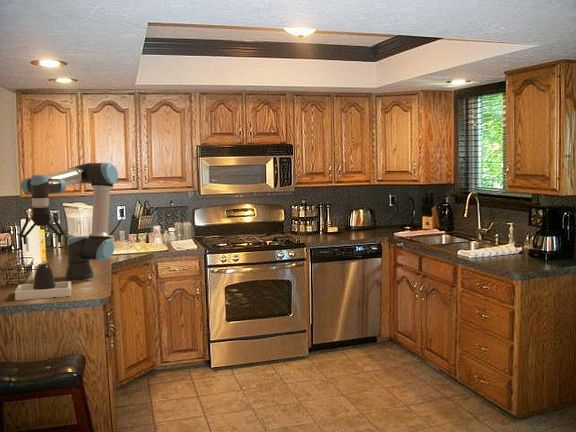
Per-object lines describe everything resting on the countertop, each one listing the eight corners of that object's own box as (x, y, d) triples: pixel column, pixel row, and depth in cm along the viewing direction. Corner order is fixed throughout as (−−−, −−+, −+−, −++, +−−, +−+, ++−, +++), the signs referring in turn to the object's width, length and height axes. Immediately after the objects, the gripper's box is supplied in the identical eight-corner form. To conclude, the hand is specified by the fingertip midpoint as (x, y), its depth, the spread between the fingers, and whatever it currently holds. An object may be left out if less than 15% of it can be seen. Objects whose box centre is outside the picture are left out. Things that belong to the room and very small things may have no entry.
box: (71, 289, 304) (71, 281, 303) (70, 296, 286) (70, 288, 286) (19, 292, 296) (18, 284, 295) (15, 300, 278) (14, 292, 278)
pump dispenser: (50, 291, 298) (49, 261, 297) (58, 294, 291) (57, 263, 289) (30, 294, 291) (28, 263, 290) (37, 297, 284) (36, 266, 283)
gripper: (68, 205, 295) (70, 247, 297) (13, 207, 287) (15, 250, 289) (67, 206, 288) (69, 249, 290) (11, 208, 280) (13, 252, 282)
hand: (42, 250), depth 289 cm, fingers open, 13 cm apart
